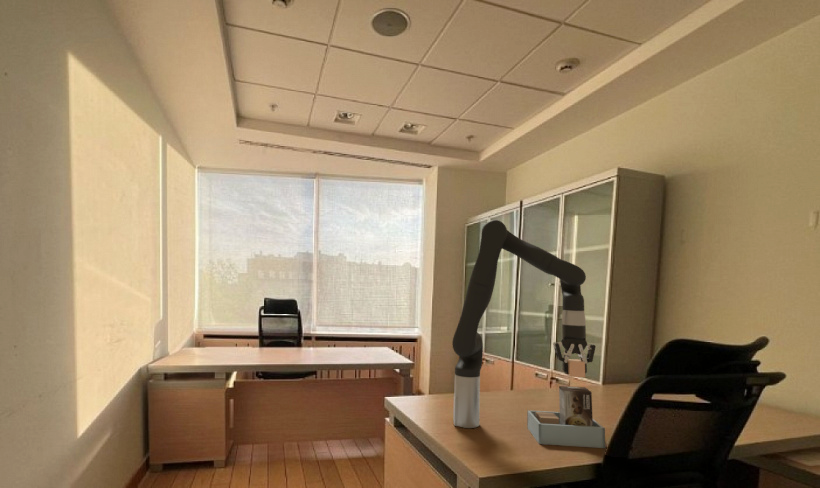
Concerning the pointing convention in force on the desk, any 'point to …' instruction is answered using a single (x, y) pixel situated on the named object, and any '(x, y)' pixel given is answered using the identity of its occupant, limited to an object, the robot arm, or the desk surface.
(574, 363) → the cube
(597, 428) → the tote
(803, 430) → the desk surface
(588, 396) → the coffee box
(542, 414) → the block
